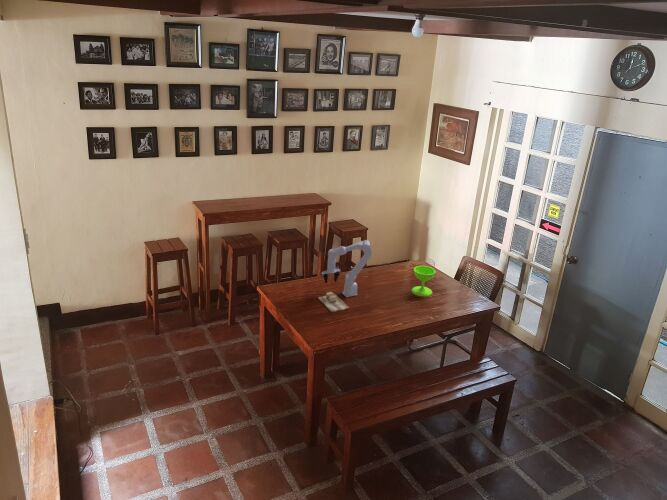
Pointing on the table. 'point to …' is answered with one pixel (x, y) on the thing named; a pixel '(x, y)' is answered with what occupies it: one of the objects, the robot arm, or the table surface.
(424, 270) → the wineglass
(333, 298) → the block
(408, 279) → the table surface
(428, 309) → the table surface
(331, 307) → the birch board
